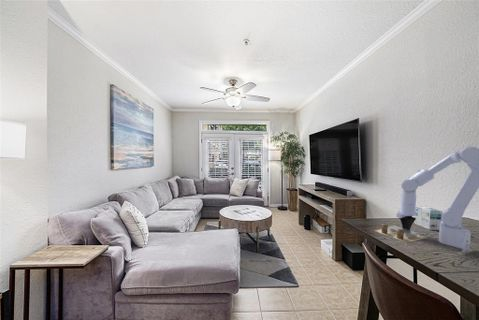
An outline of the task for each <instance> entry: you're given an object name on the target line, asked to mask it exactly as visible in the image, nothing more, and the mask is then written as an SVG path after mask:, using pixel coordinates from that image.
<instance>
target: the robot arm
mask: <svg viewBox="0 0 479 320" xmlns="http://www.w3.org/2000/svg"><path fill="white" fill-rule="evenodd" d="M462 161H463V162H464V163H465V164H466V165H467V167H468V168H469V169H470V172H469V174H468V176H467V178H465V181H464V182H463V184H462V186H461V188H460V189H459V191H458V192H457V194H456V195H455V197H454V199H453V201H452V202H451V204H450V205H449V207H448V208H447V209H444V210H442V222H440V230H438V231H439V232H438V233H439V234H438V242H439V243H441V244H444V245H447V246H451V247H454V248H457V249H461V250H459V252H465V251H467V250H470V249H471V238H472V235H471V231H470V230H469V229H466V228H464V226H463V225H462V223H463V216H464V214H465V211H466V209H467V208H468V206H469V205H470V203H471V201H472V199H473V198H474V196H475V195H476V193H477V192H478V190H479V148H478V147H476V146H471V145H470V146H466V147H465V146H464V147H463V148H461V149H460V151H459V150H458V151H455V152H453V153H451V154H449V155H447V156H446V157H445V158H443V159H441V160H440V161H438V162H437V163H435V164H434V165H433V166H431V167H430V168H422V169H418V170H417V172H416V173H414V174H413V175H411V176H408V177H407V178H408V179H405V180H403V181H402V183H401V188H402V190H401V198H400V210H397V212H396V216H395V217H396V218H398V219H399V220H400V222H401V228H404V229H407V230H410V231H411V228H412V226H413V224H414V221H415V220H416V218H415V216H418V212H415V207H416V206H417V205H416V204H417V189H418V188H419V187H423V186H424V185H426V184H427V183H429V182H430V181H432V180H434V179H435V175H436V174H437V173H439V172H440V171H442V170H444V169H445V168H448V167H449V166H451V165H453V164H456V163H462Z"/></svg>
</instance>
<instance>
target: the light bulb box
mask: <svg viewBox="0 0 479 320" xmlns="http://www.w3.org/2000/svg"><path fill="white" fill-rule="evenodd" d="M415 212H418V216H414V217H415V218H416V220H415V221H414V222H413V224H414V223H415V225H417V226H419V227H422V228H424V229H427V230H430V231H431V230H432V231H433V230H434V231H439V230H440V222H442V213H443V210H440V209H437V208H433V207H428V206H424V205H416V207H415Z"/></svg>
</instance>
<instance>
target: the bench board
mask: <svg viewBox="0 0 479 320" xmlns="http://www.w3.org/2000/svg"><path fill="white" fill-rule="evenodd" d="M388 227H389V226H388V224H386V223H385V224H384V223H382V224H381V228H380V229H375V230H373V232H377V233H379V234H382V235H384V236H388V237H391V238H394V239H397V240H398V241H401V242H405V243H412V242H416V241H420V240H425V239H427V236H426V237H425V236H422V235H419V234H417V237H414V238H409V239H408V238H405V237H404V230H402V229H397V235H396V234H393V233H390V232H387V231H388Z"/></svg>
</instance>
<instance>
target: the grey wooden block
mask: <svg viewBox="0 0 479 320" xmlns="http://www.w3.org/2000/svg"><path fill="white" fill-rule="evenodd" d="M397 229H402V230H404V237H405V238H408V239H409V238H414V237H417V235H418V232H416V231H413V230H411V229H410V230H407V229H404V228H403V227H400V226H398V225H390V226H388V231H387V232H390V233H393V234H396V235H397Z"/></svg>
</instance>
